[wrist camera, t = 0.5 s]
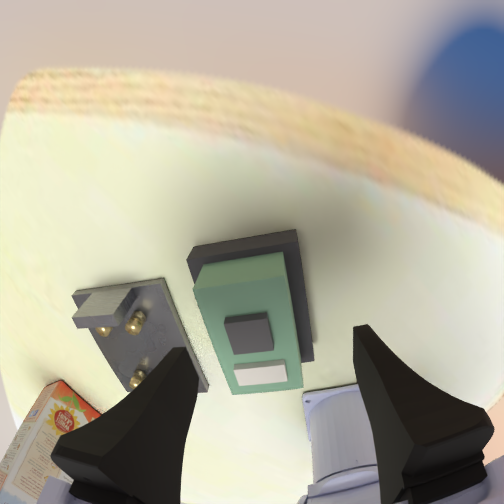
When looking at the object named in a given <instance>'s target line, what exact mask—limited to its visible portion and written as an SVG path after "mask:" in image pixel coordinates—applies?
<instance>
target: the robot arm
mask: <svg viewBox="0 0 504 504" xmlns="http://www.w3.org/2000/svg"><path fill="white" fill-rule="evenodd" d="M353 363H354V369H355V374H356V379H357V383H358V384H355V385H350V386H345V387H339V388H333V389H327V390H321V391H314V392H307V393H304V394H303V395H302V400H303V406H304V412H305V418H306V425H307V431H308V438H309V441H310V442H311V448H312V464H313V482H314V484H311V485H308V495H303V496H302V497H301V498H300V499H299V501H298V502H297V504H504V455H503V456H501V457H499V458H497V459H495V460H493V461H492V462H490V463H488V464H487V465H486V466H485V467H484V464H483V462H482V460H483V459H484V454H483V451H482V450H483V448H484V447H485V446H486V444H487V443H488V442H489V440H490V439H491V437H492V435H493V433H494V426H493V424H492V422H491V420H490V418H489V416H488V415H487V413H486V412H485V410H484V409H483V408H481V407H478V406H475V405H472V404H470V403H467V402H464V401H462V400H460V399H458V398H456V397H453V396H451V395H449V394H448V393H446V392H444V391H442V390H441V389H439V388H437V387H435V386H434V385H432V384H431V383H429V382H428V381H426V380H425V379H424V378H422V377H421V376H419V375H418V374H417V373H416V372H414V371H413V370H412V369H411V368H410V367H408V366H407V365H406V364H405V363H404V362H403V361H402V360H401V359H400V358H398V357H397V356H396V355H395V354H394V353H393V352H392V351H391V350H390V349H389V348H388V346H387V345H386V344H385V343H384V342H383V341H382V340H381V339H380V338H379V337H378V335H377V334H376V333H375V332H374V331H373V329H372V328H371V327H370V326H369V325H368V324H366V325H361V326H355V327H353ZM198 386H199V376H198V374H197V372H196V369H195V367H194V365H193V363H192V360H191V358H190V356H189V353H188V351H187V349H186V347H173V348H172V349H171V350H170V351H169V352H168V353H167V355H166V356H165V357H164V358H163V359H162V360H161V361H160V362H159V364H158V365H157V366H156V367H155V368H154V369H153V370H152V371H151V372H150V373H149V375H148V376H147V377H146V378H145V379H144V380H143V381H142V382H141V383H140V384H139V385H138V386H137V387H136V388H135V389H134V390H133V391H132V392H131V393H129V394H128V395H127V396H126V397H125V398H124V399H123V400H121V401H120V402H119V403H118V404H116V405H115V406H114V407H112V408H111V409H109V410H108V411H107V412H105V413H104V414H102V415H101V416H99V417H98V418H96V419H94V420H92V421H91V422H89V423H87V424H85V425H83V426H81V427H79V428H77V429H75V430H73V431H70V432H68V433H65V434H63V435H60V437H59V439H58V441H57V443H56V445H55V447H54V449H53V451H52V453H51V455H50V457H51V460H52V461H53V462H54V463H55V464H56V465H57V466H58V467H59V468H60V469H61V470H62V471H63V472H65V473H66V474H67V475H68V476H69V477H71V478H72V479H73V483H72V484H70V483H68V482H66V481H64V480H61V479H59V478H56V477H54V476H51V475H49V476H48V478H47V481H46V483H45V485H44V487H43V489H42V492H41V494H40V496H39V499H38V501H37V503H36V504H180V492H181V474H182V463H183V455H184V448H185V442H186V437H187V433H188V430H189V426H190V422H191V419H192V415H193V411H194V407H195V403H196V400H197V394H198Z"/></svg>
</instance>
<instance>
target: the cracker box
mask: <svg viewBox="0 0 504 504" xmlns="http://www.w3.org/2000/svg"><path fill="white" fill-rule="evenodd" d="M99 416H101V415H100V414H99V413H98V412H96V411H95V410H94V409H93V408H92V407H91V406H89V405H88V404H87V403H86V402H85V401H84V400H82V399H81V398H80V397H79V396H78V395H77V394H76V393H75V392H73V391H72V390H71V389H70V388H69V387H68V386H67V385H66V384H65V383H64V382H63V381H58V382H56V383H53V384H51V385H48V386H46V387H44V389H43V390H42V392H41V394H40V395H39V397H38V398H37V400H36V402H35V403H34V405H33V406H32V408H31V410H30V411H29V413H28V414H27V416H26V418H25V420H24V421H23V423H22V425H21V426H20V428H19V430H18V432H17V434H16V435H15V437H14V439H13V441H12V443H11V444H10V446H9V448H8V450H7V452H6V454H5V456H4V458H3V459H2V461H1V463H0V504H36V503H37V501H38V499H39V496H40V494H41V492H42V489H43V487H44V485H45V483H46V481H47V478H48V476H49V475H51V476H54V477H56V478H59V479H61V480H64V481H66V482H68V483H70V484H72V483H73V479H72V478H71V477H69V476H68V475H67V474H66V473H65V472H63V471H62V470H61V469H60V468H59V467H58V466H57V465H56V464H55V463H54V462H53V461H52V460H51V457H50V455H51V453H52V451H53V449H54V447H55V445H56V443H57V441H58V439H59V437H60V435H63V434H65V433H68V432H70V431H73V430H75V429H77V428H79V427H81V426H83V425H85V424H87V423H89V422H91V421H92V420H94V419H96V418H98V417H99Z"/></svg>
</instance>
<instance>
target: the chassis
mask: <svg viewBox="0 0 504 504" xmlns="http://www.w3.org/2000/svg"><path fill="white" fill-rule="evenodd" d="M72 298H73V300H74V302H75V304H76V306H77V308H78V310H77V312H76V313H75V314H74V315H73V317H72V319H73V321H74V323H75V325H76V327H77V328H88V329H89V330H90V332H91V334H92V336H93V338H94V339H95V341H96V343H97V345H98V346H99V348H100V350H101V351H102V353H103V355H104V356H105V358H106V360H107V361H108V363H109V365H110V366H111V368H112V369H113V371H114V373H115V374H116V376H117V377H118V379H119V380H120V382H121V383H122V385H123V386H124V388H125V389H126V391H127V392H132V391H133V390H134V389H135V388H136V387H137V386H138V385H139V384H140V383H141V382H142V381H143V380H144V379H145V378H146V377H147V376H148V375H149V373H150V372H151V371H152V370H153V369H154V368H155V367H156V366H157V365H158V364H159V362H160V361H161V360H162V359H163V358H164V357H165V356H166V355H167V353H168V352H169V351H170V350H171V349H172V348H173V347H186V349H187V351H188V353H189V356H190V358H191V360H192V363H193V365H194V367H195V369H196V372H197V374H198V376H199V386H198V393H203V392H208V388H209V385H208V383H207V381H206V379H205V377H204V374H203V372H202V370H201V368H200V366H199V363H198V361H197V359H196V356H195V354H194V352H193V350H192V347H191V345H190V343H189V340H188V338H187V335H186V333H185V331H184V328H183V326H182V323H181V321H180V318H179V316H178V314H177V311H176V308H175V306H174V303H173V301H172V298H171V296H170V293H169V290H168V288H167V285H166V282H165V280H164V278H161V279H154V280H148V281H141V282H134V283H127V284H121V285H114V286H107V287H100V288H93V289H86V290H79V291H75V292H74V294H73V295H72Z"/></svg>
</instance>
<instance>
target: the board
mask: <svg viewBox="0 0 504 504" xmlns="http://www.w3.org/2000/svg"><path fill="white" fill-rule="evenodd" d="M193 292H194V295H195V298H196V301H197V303H198V306H199V309H200V312H201V315H202V317H203V320H204V323H205V326H206V328H207V331H208V334H209V336H210V339H211V342H212V344H213V347H214V350H215V352H216V355H217V357H218V360H219V363H220V365H221V368H222V370H223V373H224V375H225V378H226V380H227V383H228V385H229V388H230V390H231V392H232V395H237V394H251V393H262V392H273V391H282V390H291V389H298V388H303V377H302V365H301V356H300V349H299V343H298V337H297V331H296V325H295V319H294V313H293V307H292V301H291V295H290V289H289V283H288V278H287V272H286V267H285V261H284V256H283V252H277V253H271V254H264V255H258V256H252V257H246V258H240V259H234V260H228V261H221V262H215V263H209V264H203V267H202V269H201V271H200V273H199V276H198V278H197V280H196V283H195V285H194V287H193Z"/></svg>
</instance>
